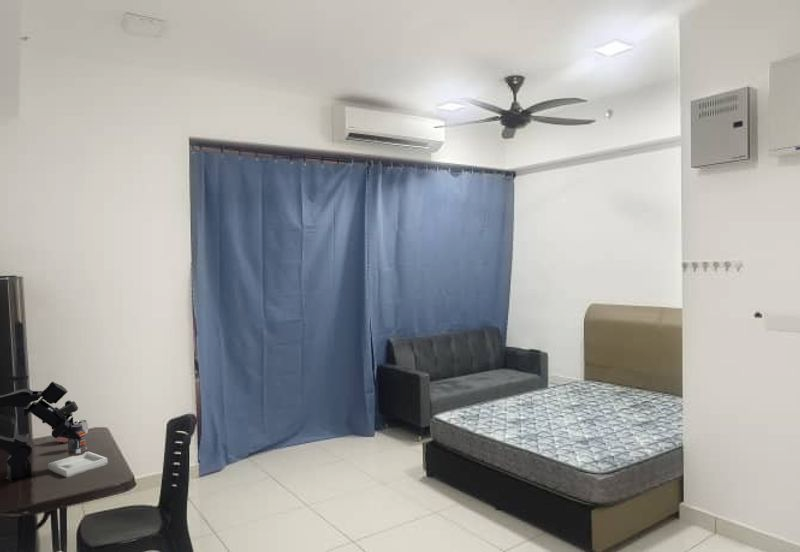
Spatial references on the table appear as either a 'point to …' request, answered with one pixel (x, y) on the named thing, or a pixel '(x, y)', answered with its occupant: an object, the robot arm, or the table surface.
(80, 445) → the supplement bottle
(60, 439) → the pink vase
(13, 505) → the table surface
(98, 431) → the table surface
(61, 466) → the tray
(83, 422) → the wineglass
